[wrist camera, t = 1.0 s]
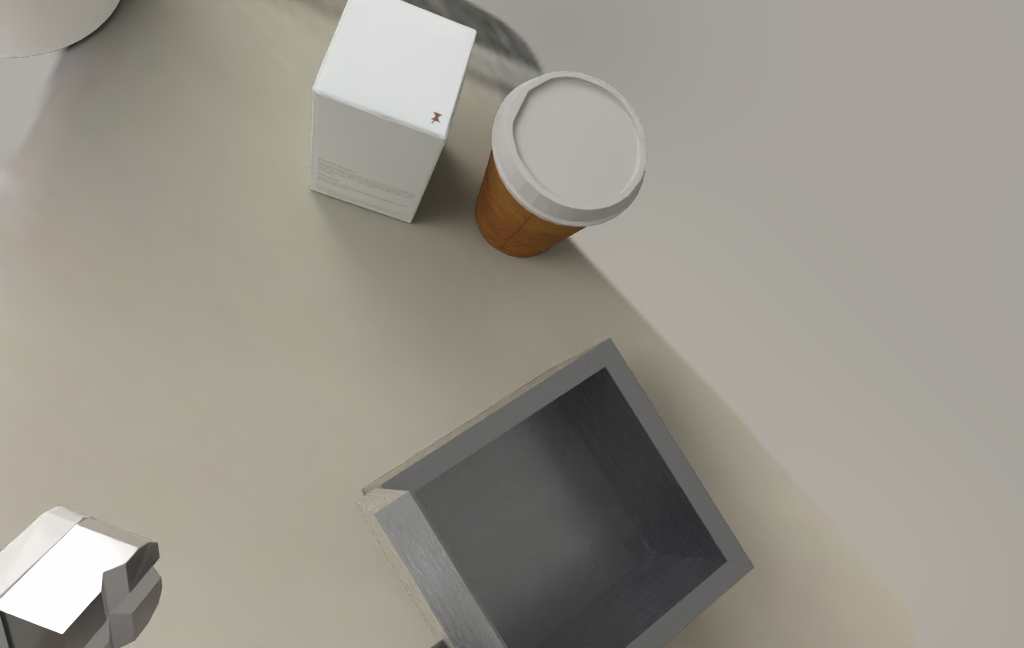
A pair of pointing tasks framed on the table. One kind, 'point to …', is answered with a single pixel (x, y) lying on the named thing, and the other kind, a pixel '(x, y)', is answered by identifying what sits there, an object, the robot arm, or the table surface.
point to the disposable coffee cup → (559, 162)
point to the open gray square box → (575, 513)
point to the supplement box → (386, 104)
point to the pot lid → (426, 570)
